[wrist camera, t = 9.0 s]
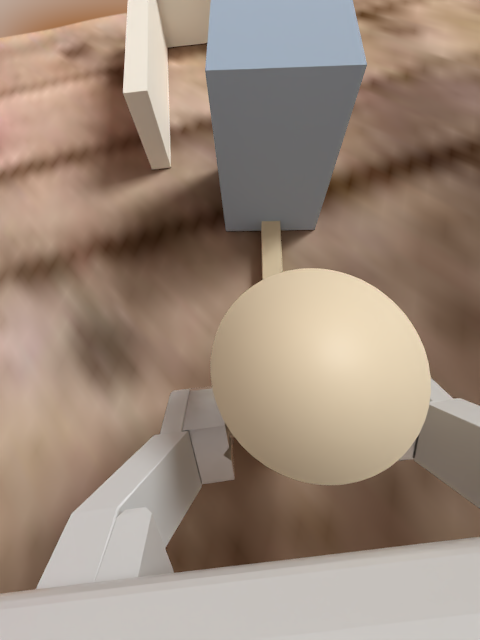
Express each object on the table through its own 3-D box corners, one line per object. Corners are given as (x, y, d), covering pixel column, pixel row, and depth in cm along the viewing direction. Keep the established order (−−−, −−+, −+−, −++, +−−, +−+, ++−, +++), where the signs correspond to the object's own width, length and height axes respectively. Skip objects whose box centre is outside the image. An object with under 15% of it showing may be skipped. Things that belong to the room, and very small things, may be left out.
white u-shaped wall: (152, 39, 23) (130, -46, 19) (294, 24, 23) (304, -65, 19) (152, 169, 19) (122, 93, 14) (331, 149, 19) (354, 68, 14)
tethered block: (227, 164, 18) (208, -58, 10) (307, 163, 18) (356, -65, 10) (219, 446, 13) (157, 482, 4) (335, 448, 13) (505, 487, 4)
